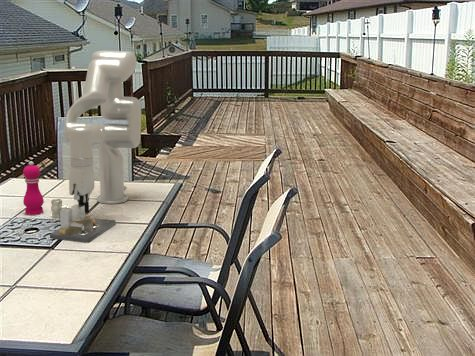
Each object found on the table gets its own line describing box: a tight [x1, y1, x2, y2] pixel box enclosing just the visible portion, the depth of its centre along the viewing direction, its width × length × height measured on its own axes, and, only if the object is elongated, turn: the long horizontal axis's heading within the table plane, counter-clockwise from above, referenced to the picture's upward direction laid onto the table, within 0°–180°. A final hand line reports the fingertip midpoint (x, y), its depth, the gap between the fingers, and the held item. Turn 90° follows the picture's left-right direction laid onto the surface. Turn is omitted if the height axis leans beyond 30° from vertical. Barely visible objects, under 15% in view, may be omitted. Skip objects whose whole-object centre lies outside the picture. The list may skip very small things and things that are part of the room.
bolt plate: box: [49, 209, 116, 244], centre depth 199 cm, size 20×14×9 cm
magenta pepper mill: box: [22, 160, 45, 216], centre depth 216 cm, size 7×7×20 cm
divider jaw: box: [70, 203, 95, 225], centre depth 200 cm, size 3×8×6 cm, turn 76°
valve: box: [50, 198, 71, 219], centre depth 214 cm, size 7×7×12 cm
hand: (83, 212), depth 205 cm, fingers closed
